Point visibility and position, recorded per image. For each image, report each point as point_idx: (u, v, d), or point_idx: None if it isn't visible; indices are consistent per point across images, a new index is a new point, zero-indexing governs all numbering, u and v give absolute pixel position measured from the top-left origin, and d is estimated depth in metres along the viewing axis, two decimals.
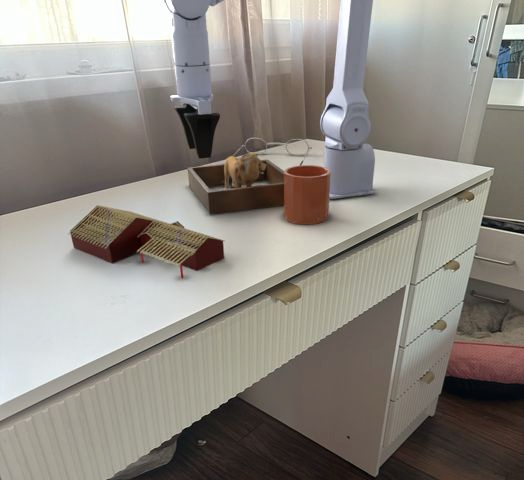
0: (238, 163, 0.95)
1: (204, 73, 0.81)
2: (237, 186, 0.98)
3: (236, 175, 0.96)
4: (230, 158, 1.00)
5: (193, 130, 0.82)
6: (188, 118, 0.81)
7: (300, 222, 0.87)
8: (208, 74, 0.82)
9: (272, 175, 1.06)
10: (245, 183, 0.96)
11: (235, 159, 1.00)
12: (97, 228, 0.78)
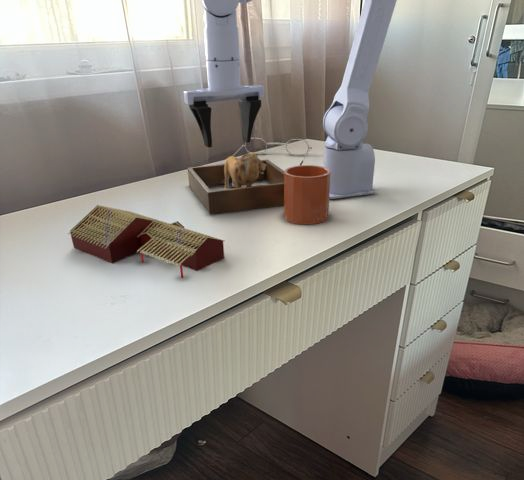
0: (238, 163, 0.95)
1: (212, 68, 0.85)
2: (237, 186, 0.98)
3: (236, 175, 0.96)
4: (230, 158, 1.00)
5: (195, 117, 0.91)
6: None
7: (300, 222, 0.87)
8: (217, 70, 0.85)
9: (272, 175, 1.06)
10: (245, 183, 0.96)
11: (235, 159, 1.00)
12: (97, 228, 0.78)
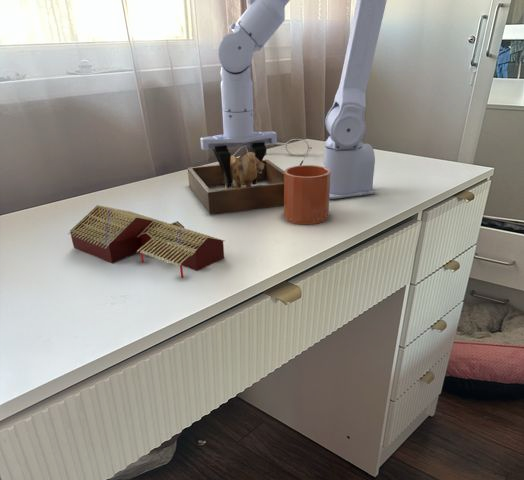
0: (236, 163, 0.95)
1: (227, 118, 0.92)
2: (236, 186, 0.98)
3: (235, 175, 0.96)
4: None
5: (217, 159, 0.99)
6: (213, 148, 0.98)
7: (300, 222, 0.87)
8: (231, 120, 0.92)
9: (272, 175, 1.06)
10: (244, 183, 0.96)
11: (234, 159, 1.00)
12: (97, 228, 0.78)
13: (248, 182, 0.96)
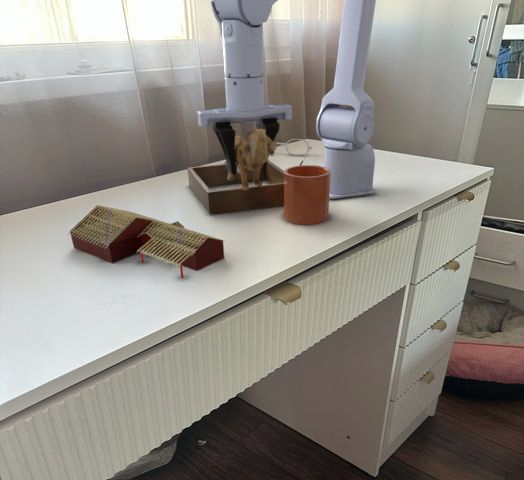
0: (242, 143, 0.76)
1: (230, 86, 0.74)
2: (242, 172, 0.79)
3: (240, 158, 0.77)
4: None
5: (218, 139, 0.80)
6: None
7: (300, 222, 0.87)
8: (236, 88, 0.73)
9: (272, 175, 1.06)
10: (251, 168, 0.77)
11: (239, 139, 0.81)
12: (97, 228, 0.78)
13: (257, 167, 0.77)
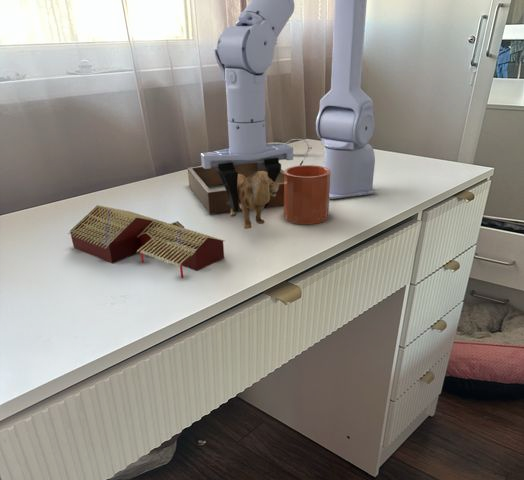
0: (245, 184, 0.78)
1: (233, 130, 0.76)
2: (244, 211, 0.81)
3: (243, 199, 0.79)
4: None
5: None
6: None
7: (300, 222, 0.87)
8: (239, 132, 0.75)
9: None
10: (254, 208, 0.79)
11: (242, 178, 0.83)
12: (97, 228, 0.78)
13: (259, 207, 0.79)
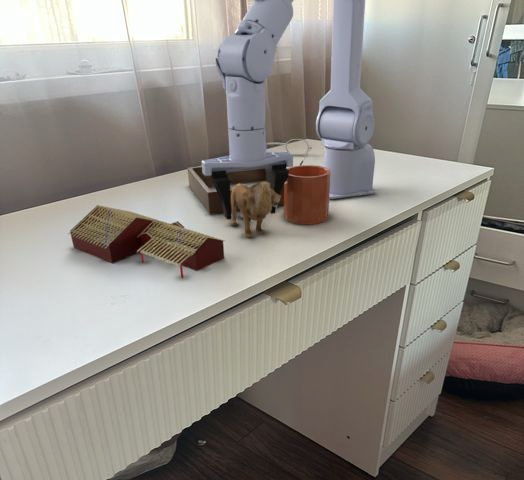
0: (247, 194, 0.79)
1: (233, 137, 0.76)
2: (245, 221, 0.82)
3: (244, 208, 0.80)
4: (238, 186, 0.84)
5: (214, 186, 0.82)
6: None
7: (300, 222, 0.87)
8: (239, 140, 0.76)
9: None
10: (255, 218, 0.80)
11: (244, 187, 0.84)
12: (97, 228, 0.78)
13: (260, 217, 0.80)
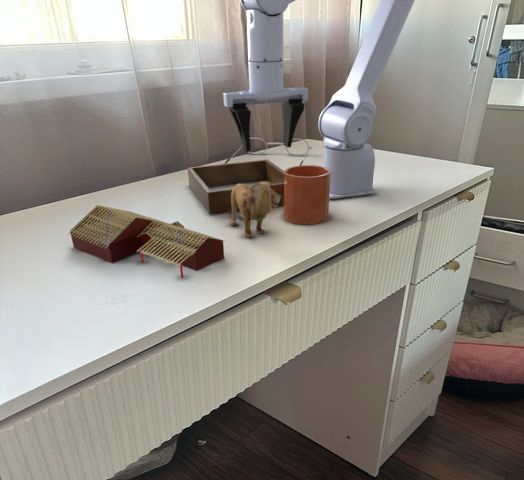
0: (247, 194, 0.79)
1: (254, 69, 0.82)
2: (245, 221, 0.82)
3: (244, 208, 0.80)
4: (238, 186, 0.84)
5: None
6: None
7: (300, 222, 0.87)
8: (259, 71, 0.81)
9: (272, 175, 1.06)
10: (255, 218, 0.80)
11: (244, 187, 0.84)
12: (97, 228, 0.78)
13: (260, 217, 0.80)
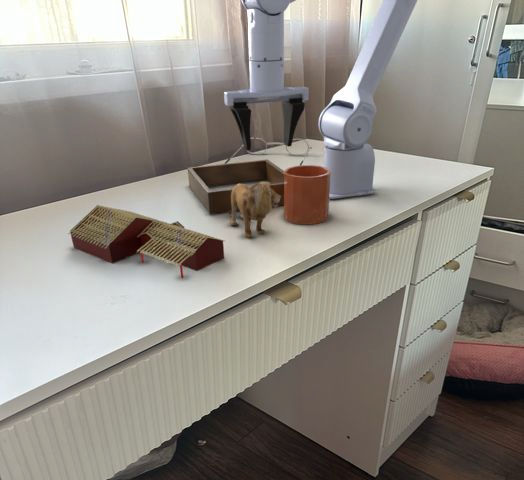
0: (247, 194, 0.79)
1: (254, 68, 0.82)
2: (245, 221, 0.82)
3: (244, 208, 0.80)
4: (238, 186, 0.84)
5: (235, 119, 0.88)
6: None
7: (300, 222, 0.87)
8: (259, 70, 0.82)
9: (272, 175, 1.06)
10: (255, 218, 0.80)
11: (244, 187, 0.84)
12: (97, 228, 0.78)
13: (260, 217, 0.80)
